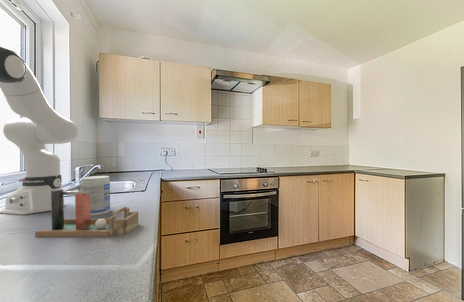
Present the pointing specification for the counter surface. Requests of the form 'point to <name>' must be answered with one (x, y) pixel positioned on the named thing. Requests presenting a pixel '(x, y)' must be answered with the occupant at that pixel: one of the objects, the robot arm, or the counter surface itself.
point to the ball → (100, 223)
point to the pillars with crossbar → (80, 208)
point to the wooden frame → (122, 222)
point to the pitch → (71, 231)
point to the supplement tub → (97, 193)
